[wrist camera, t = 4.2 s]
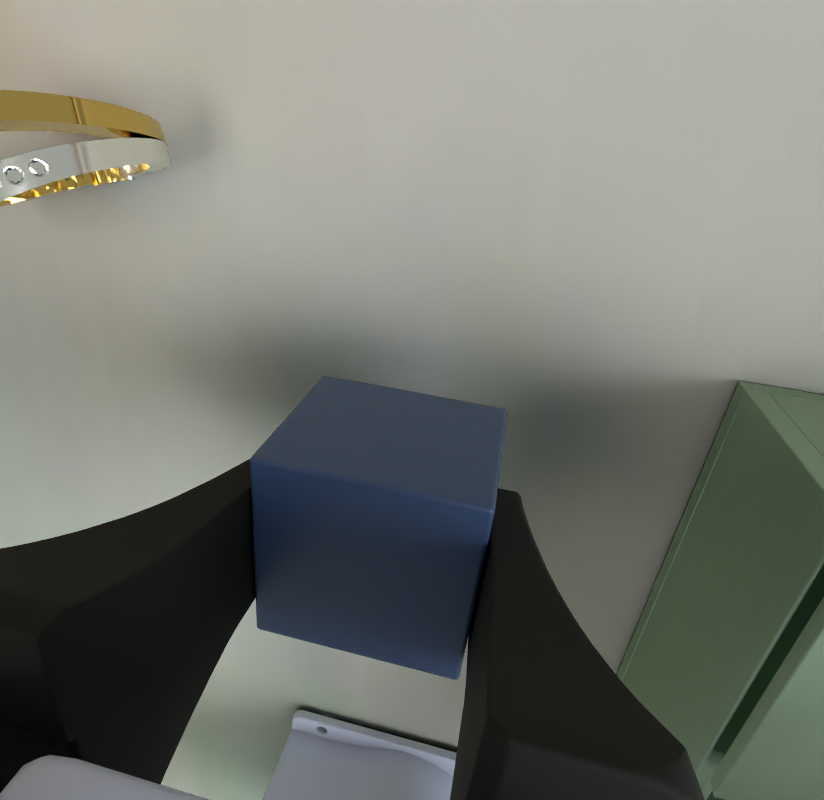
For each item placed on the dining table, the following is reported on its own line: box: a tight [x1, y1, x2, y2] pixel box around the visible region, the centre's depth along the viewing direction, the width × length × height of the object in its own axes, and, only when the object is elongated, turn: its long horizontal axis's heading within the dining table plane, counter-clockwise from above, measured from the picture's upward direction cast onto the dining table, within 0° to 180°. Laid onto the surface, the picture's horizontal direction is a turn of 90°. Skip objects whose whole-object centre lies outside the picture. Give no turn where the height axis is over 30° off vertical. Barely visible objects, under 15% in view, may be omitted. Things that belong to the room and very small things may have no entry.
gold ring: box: [0, 90, 172, 207], centre depth 13 cm, size 7×3×8 cm, turn 99°
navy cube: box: [250, 376, 507, 679], centre depth 13 cm, size 5×5×4 cm
